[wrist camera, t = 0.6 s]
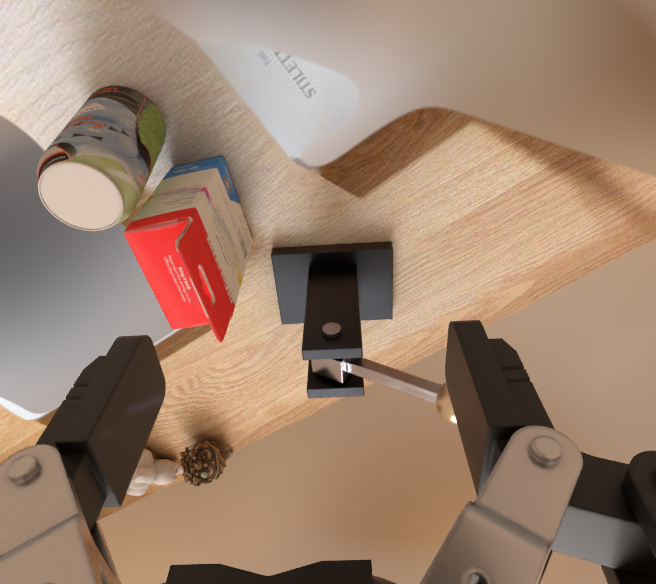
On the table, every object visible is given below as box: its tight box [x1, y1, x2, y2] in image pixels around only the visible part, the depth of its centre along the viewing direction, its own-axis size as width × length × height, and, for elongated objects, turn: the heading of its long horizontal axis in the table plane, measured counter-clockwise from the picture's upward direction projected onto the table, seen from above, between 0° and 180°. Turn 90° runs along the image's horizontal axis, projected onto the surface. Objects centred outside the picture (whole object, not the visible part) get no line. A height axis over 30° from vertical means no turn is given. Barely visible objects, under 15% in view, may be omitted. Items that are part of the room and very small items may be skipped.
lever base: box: [271, 242, 393, 398], centre depth 42 cm, size 11×8×13 cm
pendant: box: [178, 441, 233, 486], centre depth 59 cm, size 5×8×5 cm
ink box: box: [124, 156, 253, 344], centre depth 37 cm, size 8×5×15 cm, turn 12°
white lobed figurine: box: [126, 449, 179, 496], centre depth 61 cm, size 5×7×8 cm
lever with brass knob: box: [311, 358, 457, 425], centre depth 36 cm, size 13×3×3 cm, turn 94°
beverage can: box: [37, 86, 166, 231], centre depth 34 cm, size 6×7×12 cm
